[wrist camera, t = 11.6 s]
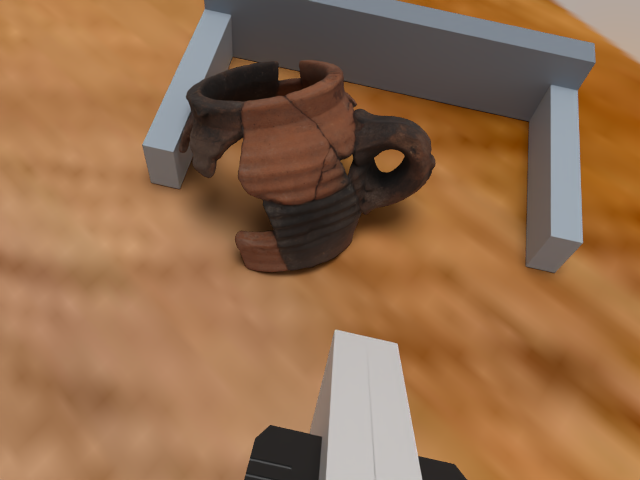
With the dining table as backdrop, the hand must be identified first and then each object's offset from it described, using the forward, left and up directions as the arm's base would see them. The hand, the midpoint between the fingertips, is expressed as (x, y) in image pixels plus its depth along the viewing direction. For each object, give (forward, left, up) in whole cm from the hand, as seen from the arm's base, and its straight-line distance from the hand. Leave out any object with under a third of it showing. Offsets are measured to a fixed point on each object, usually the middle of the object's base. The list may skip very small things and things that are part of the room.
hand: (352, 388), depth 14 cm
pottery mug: (-8, +11, -12) cm, 18 cm away
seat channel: (-6, +17, -12) cm, 21 cm away
